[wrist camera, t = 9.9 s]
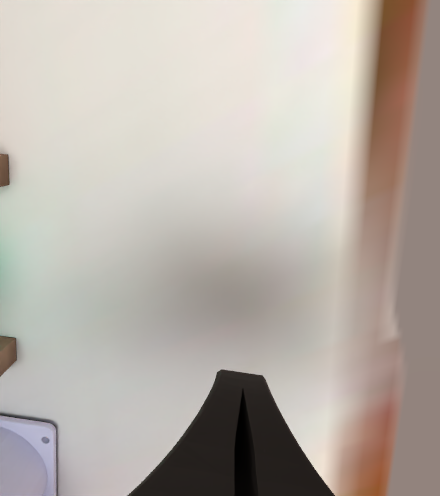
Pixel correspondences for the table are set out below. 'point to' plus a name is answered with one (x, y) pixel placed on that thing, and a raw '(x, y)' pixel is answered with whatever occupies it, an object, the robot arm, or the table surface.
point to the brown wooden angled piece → (3, 348)
